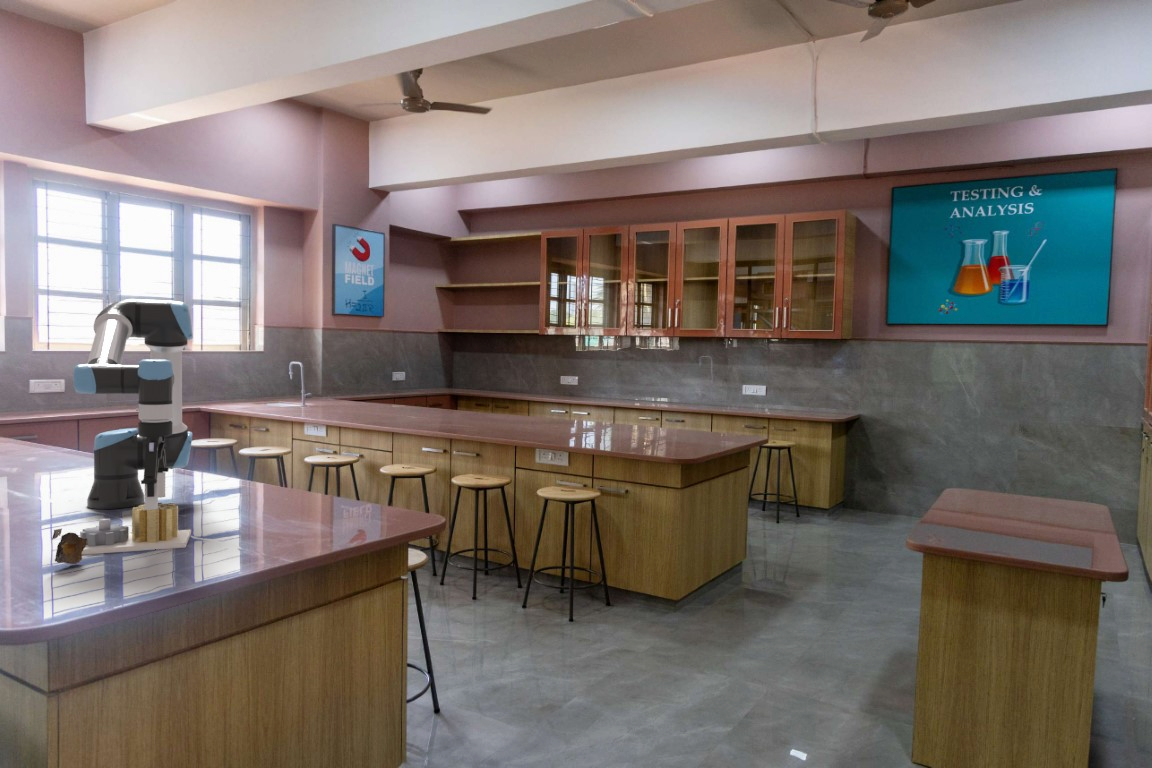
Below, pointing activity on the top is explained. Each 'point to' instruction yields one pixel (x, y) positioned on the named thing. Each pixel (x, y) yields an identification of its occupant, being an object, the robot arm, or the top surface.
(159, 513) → the brass gear
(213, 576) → the top surface
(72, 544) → the rock
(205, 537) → the top surface
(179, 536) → the gear board
